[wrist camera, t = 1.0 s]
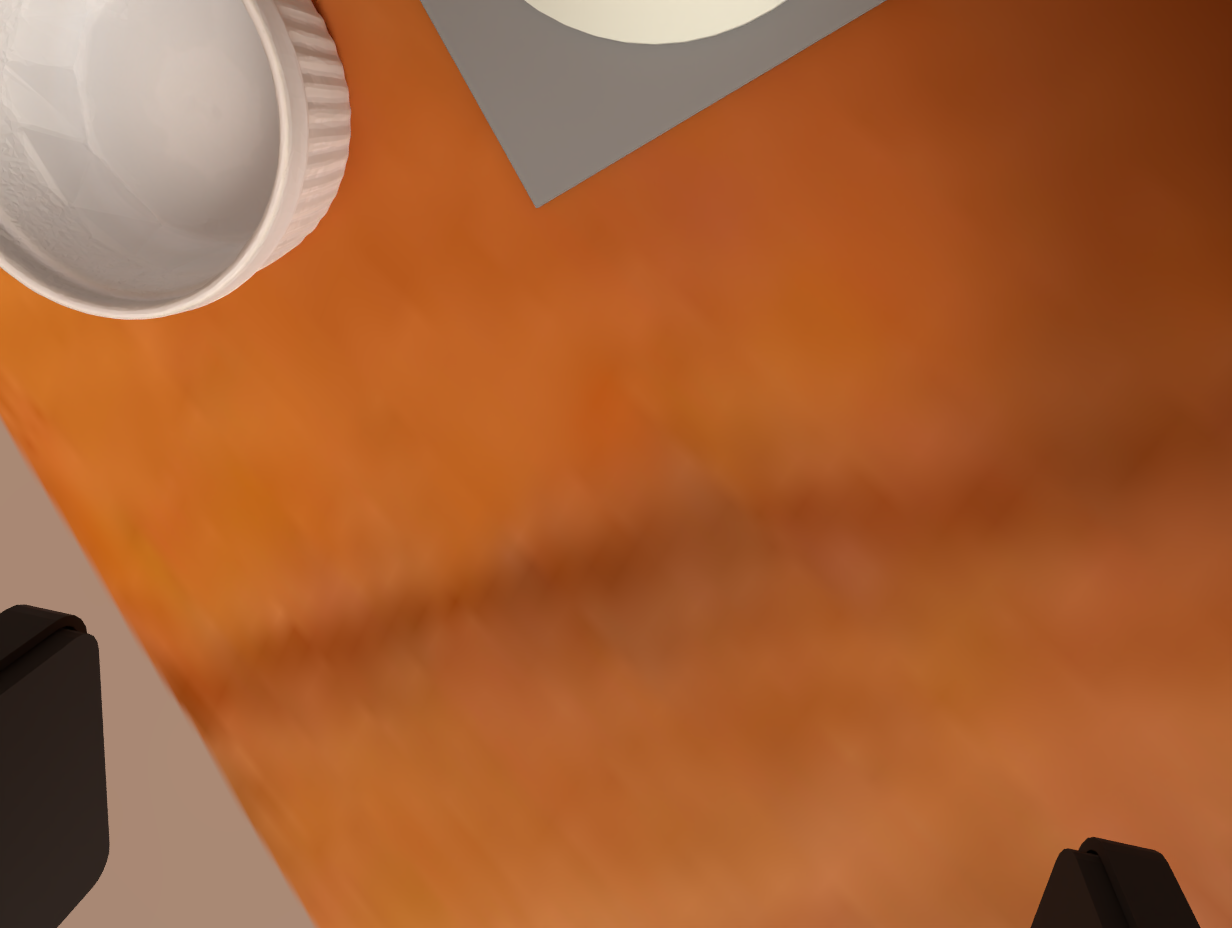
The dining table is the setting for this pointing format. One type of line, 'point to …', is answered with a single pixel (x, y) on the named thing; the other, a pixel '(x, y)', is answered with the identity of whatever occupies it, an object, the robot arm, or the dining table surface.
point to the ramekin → (163, 146)
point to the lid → (655, 17)
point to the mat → (606, 79)
